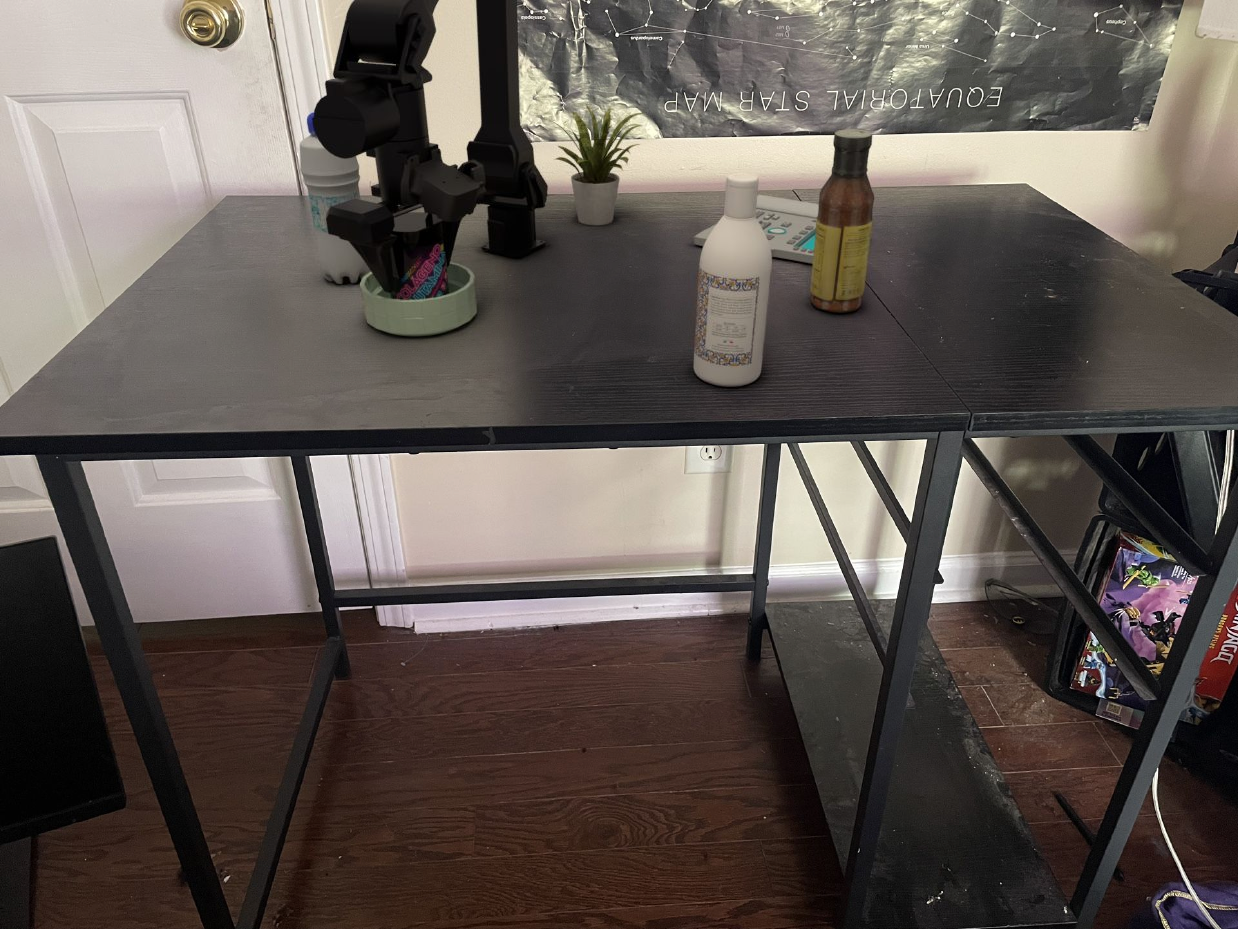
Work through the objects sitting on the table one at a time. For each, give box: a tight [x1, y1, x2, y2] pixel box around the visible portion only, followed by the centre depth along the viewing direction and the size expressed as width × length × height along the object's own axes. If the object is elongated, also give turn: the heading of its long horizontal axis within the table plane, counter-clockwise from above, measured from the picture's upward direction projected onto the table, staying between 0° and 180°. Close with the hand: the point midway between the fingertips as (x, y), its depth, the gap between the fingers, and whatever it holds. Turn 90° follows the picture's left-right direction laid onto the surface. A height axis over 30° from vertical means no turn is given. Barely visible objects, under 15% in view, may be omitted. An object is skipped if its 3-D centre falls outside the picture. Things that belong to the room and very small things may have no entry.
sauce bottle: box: [809, 128, 875, 314], centre depth 103 cm, size 7×6×20 cm
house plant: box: [547, 102, 647, 226], centre depth 129 cm, size 14×14×16 cm
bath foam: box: [693, 172, 773, 388], centre depth 87 cm, size 7×7×20 cm
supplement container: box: [390, 211, 450, 300], centre depth 101 cm, size 7×7×10 cm
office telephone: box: [693, 194, 819, 265], centre depth 128 cm, size 23×3×20 cm
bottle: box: [299, 111, 370, 285], centre depth 108 cm, size 7×7×20 cm
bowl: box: [359, 261, 478, 337], centre depth 103 cm, size 13×13×4 cm
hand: (417, 278), depth 102 cm, fingers open, 9 cm apart
